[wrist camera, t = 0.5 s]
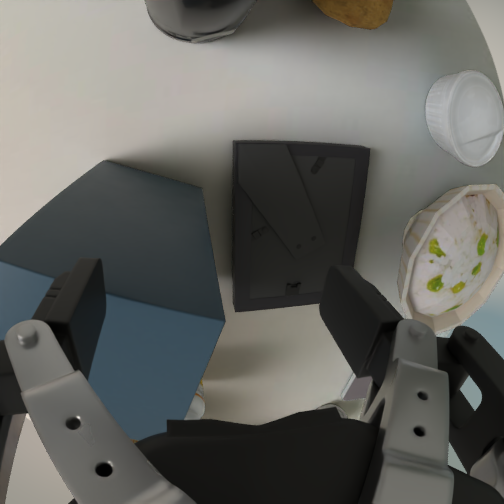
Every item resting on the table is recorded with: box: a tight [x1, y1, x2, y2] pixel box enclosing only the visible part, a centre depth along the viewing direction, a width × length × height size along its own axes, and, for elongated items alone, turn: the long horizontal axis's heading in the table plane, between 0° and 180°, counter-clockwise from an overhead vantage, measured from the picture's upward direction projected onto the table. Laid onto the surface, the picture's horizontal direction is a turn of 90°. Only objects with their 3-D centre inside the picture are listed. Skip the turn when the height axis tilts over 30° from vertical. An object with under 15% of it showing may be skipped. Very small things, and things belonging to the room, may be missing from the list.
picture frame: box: [232, 140, 370, 312], centre depth 33 cm, size 13×2×18 cm
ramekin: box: [425, 70, 504, 167], centre depth 28 cm, size 11×11×5 cm
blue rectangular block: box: [0, 160, 226, 441], centre depth 21 cm, size 10×10×20 cm
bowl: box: [397, 184, 504, 335], centre depth 33 cm, size 19×19×10 cm
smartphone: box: [341, 373, 372, 401], centre depth 47 cm, size 7×1×15 cm
